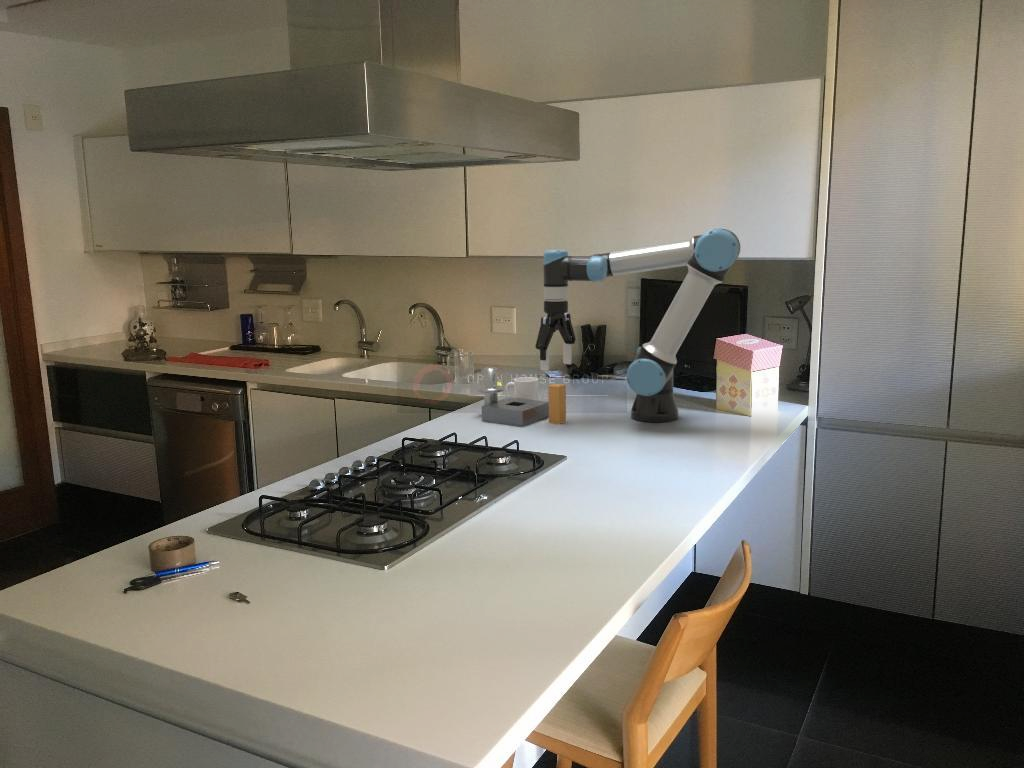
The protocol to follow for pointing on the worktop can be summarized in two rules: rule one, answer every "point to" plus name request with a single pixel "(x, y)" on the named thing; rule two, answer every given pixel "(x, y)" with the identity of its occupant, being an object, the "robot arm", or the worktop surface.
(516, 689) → the worktop surface
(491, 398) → the grey peg stand
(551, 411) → the tall orange block
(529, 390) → the cup
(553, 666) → the worktop surface
